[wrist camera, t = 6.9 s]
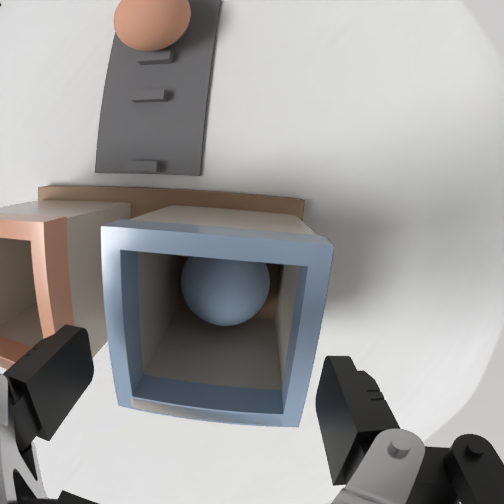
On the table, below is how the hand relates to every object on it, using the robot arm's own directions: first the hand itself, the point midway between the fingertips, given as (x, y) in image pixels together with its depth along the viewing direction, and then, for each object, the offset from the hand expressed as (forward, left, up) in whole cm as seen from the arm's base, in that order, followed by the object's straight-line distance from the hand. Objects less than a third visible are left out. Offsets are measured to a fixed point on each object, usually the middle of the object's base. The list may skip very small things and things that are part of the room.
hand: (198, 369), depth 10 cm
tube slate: (0, 0, -12) cm, 12 cm away
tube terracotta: (0, -11, -12) cm, 16 cm away
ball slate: (0, 0, -12) cm, 12 cm away
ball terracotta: (-17, -6, -13) cm, 22 cm away
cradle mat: (-13, -6, -13) cm, 20 cm away
